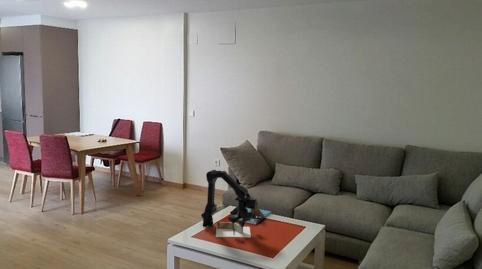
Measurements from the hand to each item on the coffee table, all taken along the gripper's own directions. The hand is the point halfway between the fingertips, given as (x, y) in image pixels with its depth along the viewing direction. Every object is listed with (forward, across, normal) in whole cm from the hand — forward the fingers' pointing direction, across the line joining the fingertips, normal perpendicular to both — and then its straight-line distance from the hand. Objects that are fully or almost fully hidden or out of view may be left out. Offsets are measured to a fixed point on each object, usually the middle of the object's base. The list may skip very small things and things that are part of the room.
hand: (242, 228), depth 262 cm
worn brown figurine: (+3, +24, +18) cm, 30 cm away
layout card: (+2, -5, +2) cm, 6 cm away
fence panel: (+1, -2, +1) cm, 3 cm away
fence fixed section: (+2, -7, +9) cm, 12 cm away
